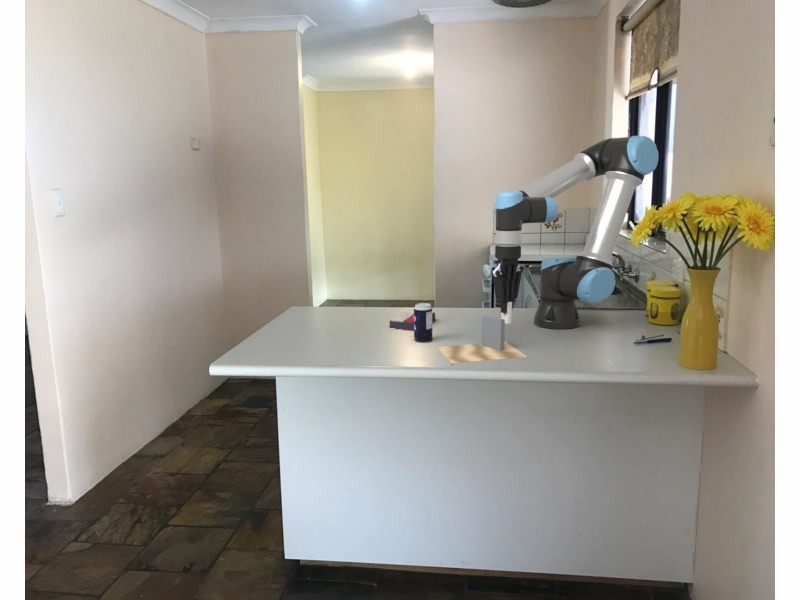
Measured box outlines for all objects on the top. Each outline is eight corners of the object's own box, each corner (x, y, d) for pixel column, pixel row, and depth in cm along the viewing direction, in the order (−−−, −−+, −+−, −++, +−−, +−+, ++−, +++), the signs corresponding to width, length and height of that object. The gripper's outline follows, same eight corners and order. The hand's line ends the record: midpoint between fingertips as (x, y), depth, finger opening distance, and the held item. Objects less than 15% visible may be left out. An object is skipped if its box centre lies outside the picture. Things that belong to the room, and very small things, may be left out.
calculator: (388, 319, 200) (407, 307, 213) (389, 331, 201) (407, 319, 214) (418, 322, 195) (435, 310, 208) (418, 334, 196) (435, 322, 209)
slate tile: (485, 344, 177) (486, 315, 175) (504, 349, 172) (504, 319, 170) (481, 345, 176) (482, 316, 174) (500, 350, 171) (500, 320, 169)
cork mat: (505, 343, 180) (505, 341, 180) (527, 358, 165) (527, 356, 165) (436, 348, 176) (436, 346, 175) (451, 365, 160) (451, 363, 160)
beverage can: (426, 338, 187) (426, 302, 184) (435, 343, 182) (435, 305, 179) (410, 341, 184) (410, 304, 182) (419, 345, 179) (419, 307, 177)
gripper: (511, 242, 179) (509, 317, 184) (483, 245, 170) (482, 324, 175) (532, 243, 173) (529, 321, 178) (504, 247, 165) (502, 329, 170)
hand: (506, 322), depth 177 cm, fingers closed
